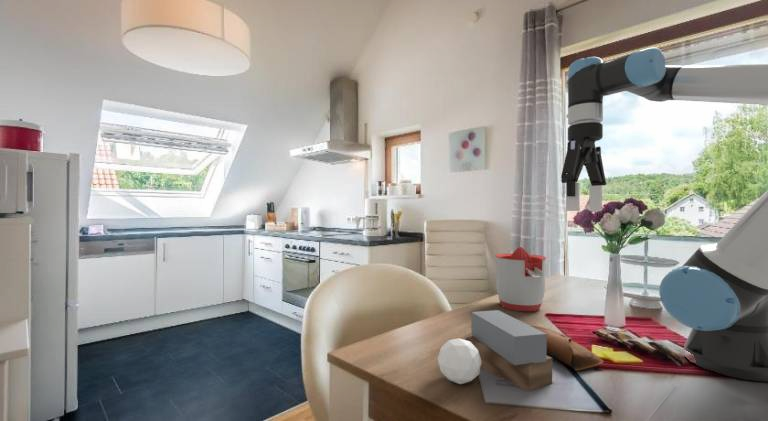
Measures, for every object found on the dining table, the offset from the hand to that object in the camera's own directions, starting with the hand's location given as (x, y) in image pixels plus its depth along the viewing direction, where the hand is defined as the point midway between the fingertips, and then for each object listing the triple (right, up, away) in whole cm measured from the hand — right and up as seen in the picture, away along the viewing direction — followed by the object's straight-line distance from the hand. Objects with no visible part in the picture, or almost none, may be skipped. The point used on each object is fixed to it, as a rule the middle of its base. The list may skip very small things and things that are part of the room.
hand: (584, 211), depth 89 cm
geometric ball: (-35, -32, -22) cm, 52 cm away
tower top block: (-25, -27, -17) cm, 41 cm away
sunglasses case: (-9, -32, -8) cm, 35 cm away
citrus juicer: (-5, -32, +29) cm, 43 cm away
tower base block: (-25, -32, -17) cm, 44 cm away
